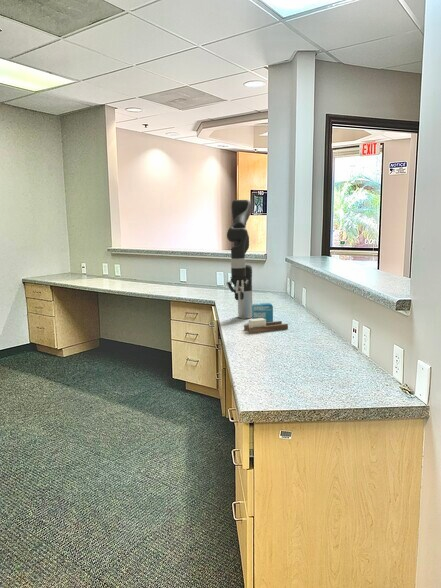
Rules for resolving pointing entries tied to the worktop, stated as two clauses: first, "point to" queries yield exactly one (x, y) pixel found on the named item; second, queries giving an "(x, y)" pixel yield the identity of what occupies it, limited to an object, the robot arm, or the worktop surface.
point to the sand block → (257, 322)
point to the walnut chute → (267, 327)
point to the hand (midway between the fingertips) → (239, 299)
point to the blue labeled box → (262, 311)
